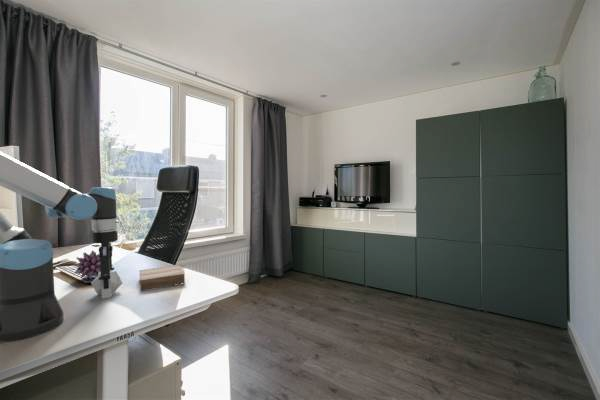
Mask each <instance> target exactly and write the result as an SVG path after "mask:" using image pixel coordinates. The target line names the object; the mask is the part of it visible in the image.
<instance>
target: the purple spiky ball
mask: <svg viewBox="0 0 600 400" xmlns="http://www.w3.org/2000/svg"><path fill="white" fill-rule="evenodd" d="M82 255H83V257H78V256H77V257H76V260H77V261H78V262H77V263H73V266H74V267H76V269H75V271H74V274H78V275H80V274H81V275H80V278H81V279H83V278H84V277H86V279H87V278H89V279H91V278H92V277H95V278H96V277H97V276H98V275H99V273H101V260H100V253H99V252H98V254H97V252H95V250H91V252H90V253H89V254H88V253H87V252H83V253H82ZM82 277H83V278H82Z"/></svg>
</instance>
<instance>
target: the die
mask: <svg viewBox="0 0 600 400" xmlns="http://www.w3.org/2000/svg"><path fill="white" fill-rule="evenodd" d="M106 275H107V274H106ZM110 276H111V294H112V296H113V294H115V293H116V291H117V290H118V289H119V288H120V287H121V285H122V284H123V281H122V280H121V277H120V276H119V274H118V272H117V271H116V270H110ZM100 277H101V272H99V273H98V276H97V277H96V276H95V278H94V279H93V280H92V281H91V282H90V283H91V286H92V287H93V289H94V291H95V293H96V295H97V296H102V285H101V280H99V278H100Z"/></svg>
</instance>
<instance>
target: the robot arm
mask: <svg viewBox="0 0 600 400" xmlns="http://www.w3.org/2000/svg"><path fill="white" fill-rule="evenodd" d="M0 187H2V188H5V189H6V190H9V191H11V192H13V193H16V194H17V195H20V196H22V197H24V198H27V199H29V200H31V201H34V202H37V203H39V204H40V205H42V206H44V208H45V213H46V216H47V217H48V218H58V219H59V218H71V219H73V220H75V221H83V220H88V219H90V218H91V222H90V223H91V231H93V232H92V235H91V236H92V239H91V240H92V243H93V244H100V246H99V248H98V254H99V253H100V260H101V272H100V273H101V277H100V278H99V280H101V285H102V295H101V299H107V298H112V296H113V295H112V294H111V276H110V271H115V267H113V262H112V261H113V260H112V258H113V257H112V256H113V245H112V243H115V242H117V241H118V239H119V238H118V237H119V236H118V234H119V233H118V230H117V229H118V224H119V223H120V220H118V218H117V217H118V216H117V195H116V190H115V188H114V187H112V186H111V187H110V186H109V187H107V186H103V187H91V188H90V190H89V192H87V193H86V192H85V193H82V192H80V191H78V190H76V189H74V188H72V187H69V186H68V185H66V184H65V183H63V182H61V181H58V180H57V179H55V178H53V177H50V176H49V175H47V174H45V173H43V172H41V171H39V170H37V169H35V168H33V167H32V166H30V165H27V164H25V163H24V162H21V161H20V160H17V159H15V158H14V157H11V156H10V155H8V154H7V153H4V152H2V151H0ZM53 256H54V249H53V246H52V243H51V242H50V241H48V240H45V239H37V238H33V237H31V235H30V234H29V233H28V231H27V230H26V229H25V227H24V228H23V227H16V226H14V225H13V224H12V223H11V221H10V220H9V219H8V218H7V217H6V215H4V213H3V212H2V211H1V210H0V341H4V342H11V341H12V342H14V341H18V340H22V339H27V338H31V337H35V336H37V335H41V334H44V333H47V332H48V331H51V330H53V329H55V328H56V327H59V326H60V325H61V324H62V323H64V321H65V317H64V314H65V313H64V310H63V308H62V306H61V304H60V302H59V301H58V298H57V296H56V294H55V279H54V277H55V276H54V258H53ZM106 274H107V275H106Z"/></svg>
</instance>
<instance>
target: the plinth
mask: <svg viewBox="0 0 600 400" xmlns="http://www.w3.org/2000/svg"><path fill="white" fill-rule="evenodd" d="M181 283H184V284H185V273H184V271H183V270H182V268H181V266H180V265H179V264H177V265H170V266H169V265H168V266H163V267H155V268H148V269H142V270H141V269H140V270H139V285H140V291H141V292H144V291H150V290H156V289H161V287H163V288H167V287H166V286H169V287H171V286H170V285H175V284H181ZM181 285H182V284H181ZM175 286H176V285H175Z"/></svg>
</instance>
